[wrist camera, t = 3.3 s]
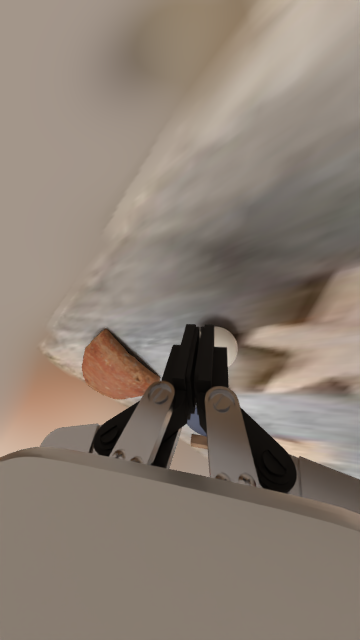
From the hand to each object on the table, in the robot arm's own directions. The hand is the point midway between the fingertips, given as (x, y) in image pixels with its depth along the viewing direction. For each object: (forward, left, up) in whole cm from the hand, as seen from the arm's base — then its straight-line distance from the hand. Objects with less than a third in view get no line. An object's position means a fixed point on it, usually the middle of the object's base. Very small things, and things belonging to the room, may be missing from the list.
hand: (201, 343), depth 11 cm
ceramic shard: (+1, +28, -14) cm, 31 cm away
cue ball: (-7, +7, -10) cm, 14 cm away
